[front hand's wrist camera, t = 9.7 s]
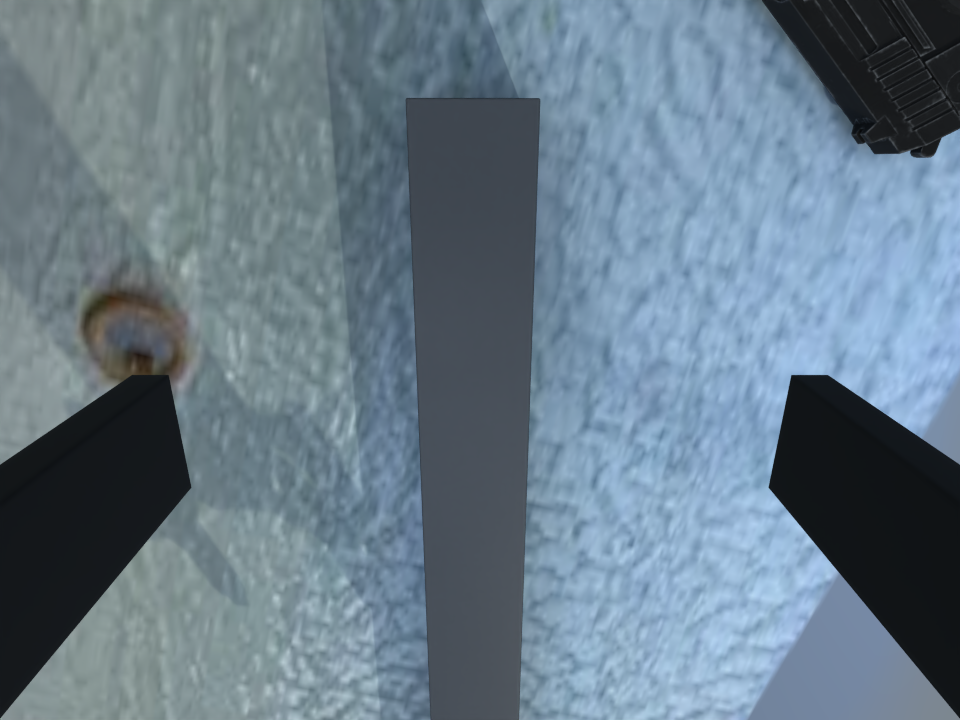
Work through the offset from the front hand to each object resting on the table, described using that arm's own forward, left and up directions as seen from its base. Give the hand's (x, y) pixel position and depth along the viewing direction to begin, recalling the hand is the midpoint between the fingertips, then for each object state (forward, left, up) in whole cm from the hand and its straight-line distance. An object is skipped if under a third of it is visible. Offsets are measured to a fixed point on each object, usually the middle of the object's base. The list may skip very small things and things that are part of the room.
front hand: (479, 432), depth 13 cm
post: (+22, +10, -19) cm, 31 cm away
